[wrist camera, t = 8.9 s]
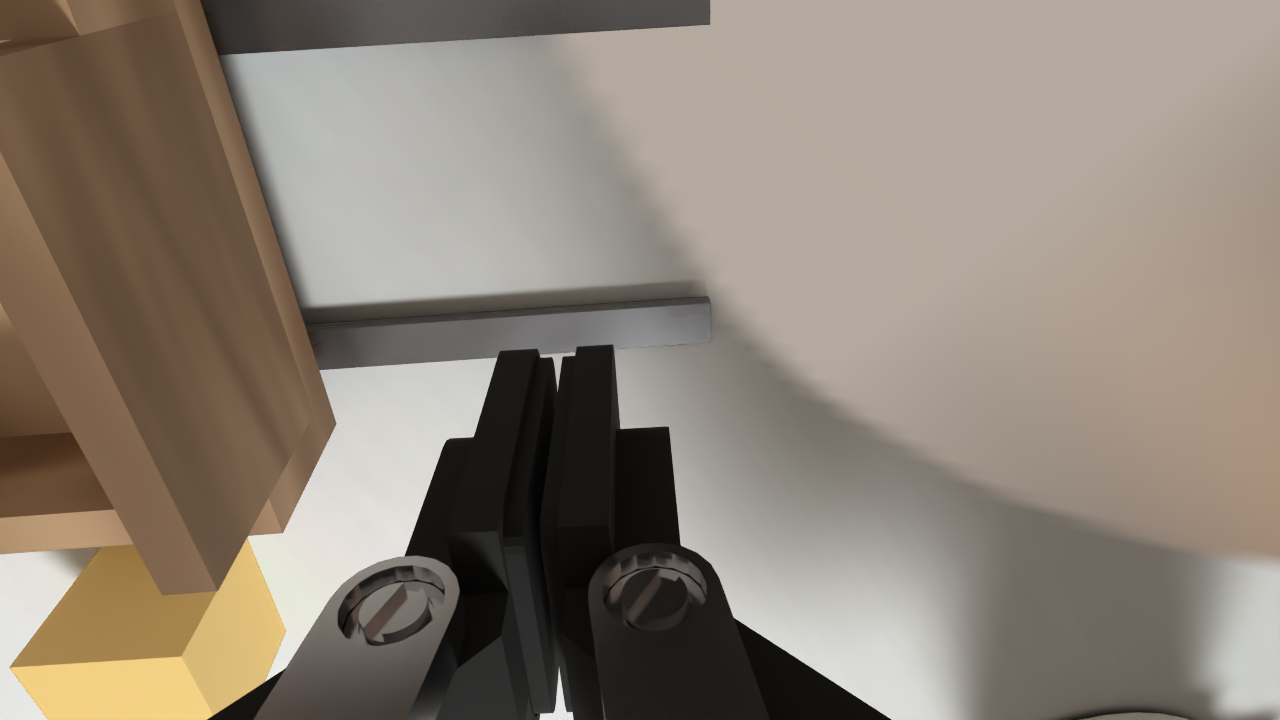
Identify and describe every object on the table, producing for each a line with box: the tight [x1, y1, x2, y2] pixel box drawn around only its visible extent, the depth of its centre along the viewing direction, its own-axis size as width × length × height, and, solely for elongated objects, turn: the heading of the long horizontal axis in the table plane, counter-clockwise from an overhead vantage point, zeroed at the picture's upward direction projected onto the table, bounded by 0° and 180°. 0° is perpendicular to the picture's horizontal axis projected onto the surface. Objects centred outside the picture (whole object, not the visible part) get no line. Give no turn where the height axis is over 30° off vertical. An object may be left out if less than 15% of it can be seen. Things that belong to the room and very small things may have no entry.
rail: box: [200, 0, 711, 370], centre depth 17 cm, size 28×11×2 cm, turn 93°
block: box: [9, 538, 286, 720], centre depth 23 cm, size 4×4×4 cm
